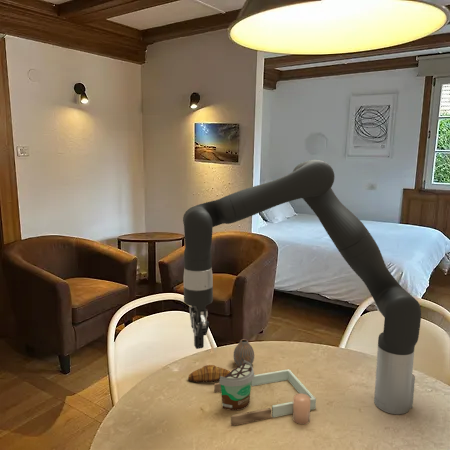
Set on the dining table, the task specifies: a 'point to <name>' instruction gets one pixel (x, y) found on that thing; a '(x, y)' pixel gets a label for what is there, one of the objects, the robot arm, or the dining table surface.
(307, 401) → the tan rounded piece
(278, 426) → the dining table surface
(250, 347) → the vase
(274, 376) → the bay
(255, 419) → the brown flat strips
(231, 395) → the food container
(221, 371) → the croissant
